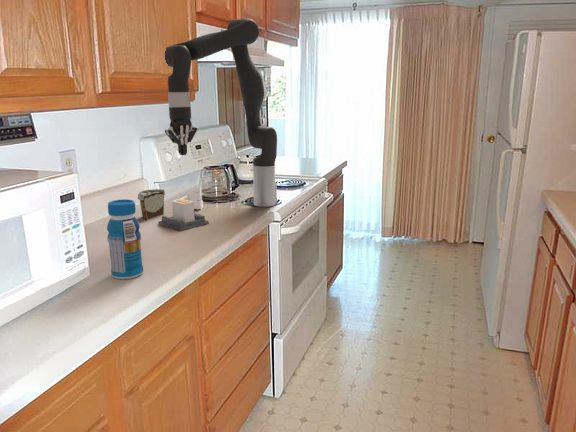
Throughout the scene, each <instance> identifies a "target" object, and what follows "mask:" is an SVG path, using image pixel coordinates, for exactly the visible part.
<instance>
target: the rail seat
mask: <svg viewBox="0 0 576 432" xmlns="http://www.w3.org/2000/svg"><path fill="white" fill-rule="evenodd" d="M194 217H195V220H194V221H190V222H186V223H184V222H182V221H180V220H177V219H173V215H171V216H166V215H162V216H161V220H160V221H158V222H157V223H158V225H159V226H163V227H165V228H169V229H172V230H175V231H179V232H181V231H185V230H188V229H189V230H190V229H193V228H197V227H201V226H204V225H208V224H209V222H210V221H209V220H206V218H205V217H206V216H205V215H203V214H199V213H196V212H194Z"/></svg>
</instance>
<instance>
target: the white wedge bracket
mask: <svg viewBox="0 0 576 432" xmlns="http://www.w3.org/2000/svg"><path fill="white" fill-rule="evenodd" d="M202 197H203V195H202V185H199V186H197V187H196V188H194V189H192V190H190V191H189V192H187V193H186V200H188V201H192V202H194V209H201V210H203V209H204V200H203V198H202ZM202 208H203V209H202Z"/></svg>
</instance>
